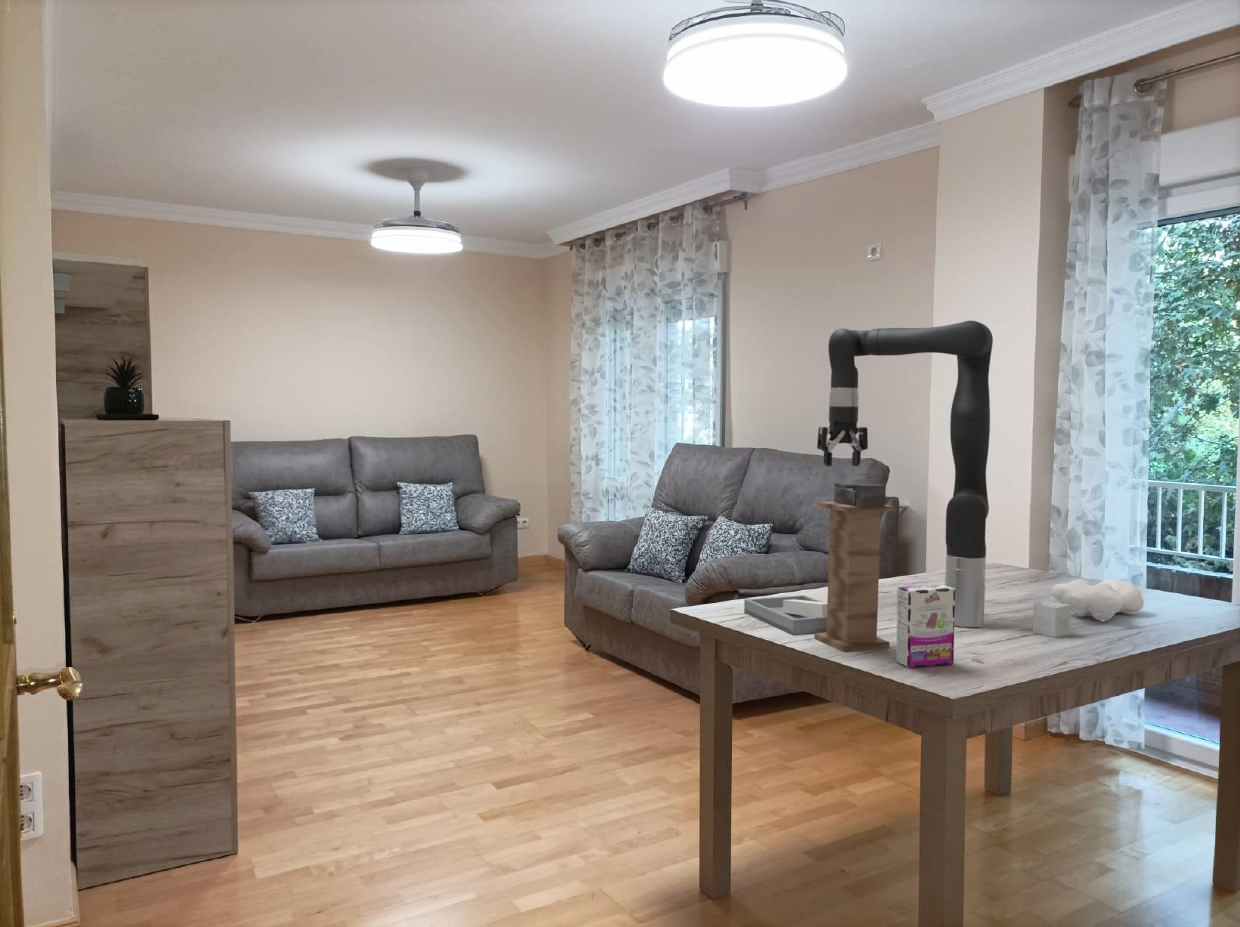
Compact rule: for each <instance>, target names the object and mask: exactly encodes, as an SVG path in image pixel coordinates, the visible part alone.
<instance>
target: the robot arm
mask: <svg viewBox="0 0 1240 927" xmlns="http://www.w3.org/2000/svg"><path fill="white" fill-rule="evenodd" d="M993 338H994V337H993V334H992V331H991V330H990V328H989V327H988V326H987V325H986V324H983V323H982V322H979V321H976V320H965V321H962V322H956V323H953V324H947V325H942V326H941V325H939V326H932V327H887V328H886V327H885V328H881V327H880V328H872V329H870V330H868V329H867V330H865V329H864V330H852V329H847V328H838V329H837V330H835V331H834V332H832V333H831V335H830V337H829V340H828V348H827V349H828V357H829V364H830V369H831V374H830V391H829V392H830V393H829V402H828V403H829V404H828V407H829V408H828V422H829V426H828V427H826V426H819V427H818V429H817V430H818V432H817V444H816V448H817V449H818V450H820V451H822V452H823V464H824V465H825V467H832V465H833V449H834V448H835V447H836V446H838V444H848V445H849V446H850V448H851V449H852V450H853V451H852V454H851V455H852V456H851V458H852V459H851V466H853V467H859V466H860V464H861V459H862V458H861V454H862V451H864V450H865V451H866V450H868V448H869V445H868V444H869V442H868V436H869V435H868V427H866V426H859V427H858V426H857V425H858V422H859V402H860V401H859V399H860V398H859V370H858V368H857V366H856V364H855V357H865V356H866V357H867V356H883V357H885V356H904V355H913V354H924V353H925V354H926V353H929V354H930V353H931V354H932V353H934V354H935V353H936V354H945V355H946V354H947V355H953V356H956V360H957V361H956V362H957V383H956V387H955V392H954V395H953V400H952V403H951V409H950V418H949V419H950V422H949V423H950V424H949V426H950V430H949V433H950V434H949V435H950V445H951V453H952V458H953V463H954V472H955V473H954V475H955V476H954V486H953V487H954V488H953V494H952V497H951V498H950V500H949V501H948V503H947V505H946V512H945V513H946V514H945V546H946V547H945V548H946V558H945V579H944V580H945V583H944V585H946V586H949V587H952V588H955V615H954V627H962V628H983V627H984V622H985V620H984V619H985V602H986V601H985V596H986V585H985V584H986V561H987V559H986V558H987V546H986V545H987V544H986V527H987V525H986V523H987V517H988V516H989V510H990V505H989V498H988V488H987V463H988V456H989V447H990V434H991V433H990V432H991V408H990V407H991V406H990V405H991V403H990V402H991V401H990V398H991V397H990V384H989V376H990V365H991V364H990V363H991V357H992V350H993V343H994V342H993V341H994V339H993ZM828 435H830V436H829V437H828ZM856 435H857V436H858V439H857V436H856Z"/></svg>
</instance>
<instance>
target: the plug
mask: <svg viewBox="0 0 1240 927" xmlns="http://www.w3.org/2000/svg"><path fill="white" fill-rule="evenodd" d="M783 610H784V613H790V614H797V615H804V616H812V617H819V618H827V602H824V601H822V602H814V601H805V600H795V599H792V600H783Z"/></svg>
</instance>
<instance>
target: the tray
mask: <svg viewBox="0 0 1240 927" xmlns="http://www.w3.org/2000/svg"><path fill="white" fill-rule="evenodd" d="M792 599H795V600H805V601H814V602H823V601H822V600H818V599H815V598H814V597H811V596H807V595H805V594H799V595H798V594H797V595H784V596H771V597H770V596H769V597H758V598H757V597H756V598H745V599H744V602H743V603H744V604H743V605H744V606H743V608H744V609H743V613H744V614H747V615H749V616H751V617H753V618H756V619H758V620H760V621H762V622H763V623H767V624H769V625H771V626H773V627H775V628H777V629H779V630H782V631H784V632H786V633H788V634H790V635H793V636H797V635H805V634H806V635H807V634H814V633H824V632H827V618H819V617H812V616H804V615H797V614H790V613H784V610H783V600H792Z"/></svg>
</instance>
